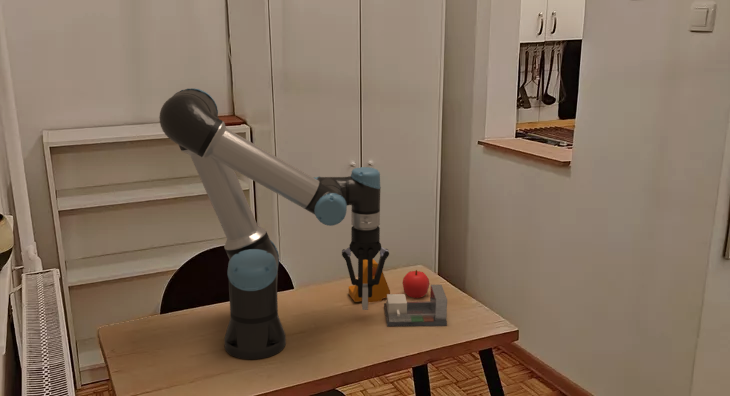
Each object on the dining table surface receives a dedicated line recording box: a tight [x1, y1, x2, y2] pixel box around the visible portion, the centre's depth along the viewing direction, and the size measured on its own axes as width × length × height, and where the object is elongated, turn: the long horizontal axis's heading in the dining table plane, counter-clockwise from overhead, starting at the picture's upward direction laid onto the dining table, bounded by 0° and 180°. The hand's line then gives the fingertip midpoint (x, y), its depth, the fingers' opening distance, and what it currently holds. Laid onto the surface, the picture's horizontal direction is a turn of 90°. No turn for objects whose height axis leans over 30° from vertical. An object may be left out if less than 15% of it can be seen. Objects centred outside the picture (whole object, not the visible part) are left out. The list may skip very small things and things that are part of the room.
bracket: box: [348, 258, 391, 304], centre depth 193 cm, size 11×7×12 cm, turn 108°
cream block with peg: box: [386, 293, 408, 317], centre depth 180 cm, size 5×9×4 cm, turn 3°
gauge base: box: [383, 284, 448, 328], centre depth 182 cm, size 16×12×7 cm
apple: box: [402, 269, 430, 299], centre depth 195 cm, size 8×8×8 cm
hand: (364, 307), depth 181 cm, fingers closed
